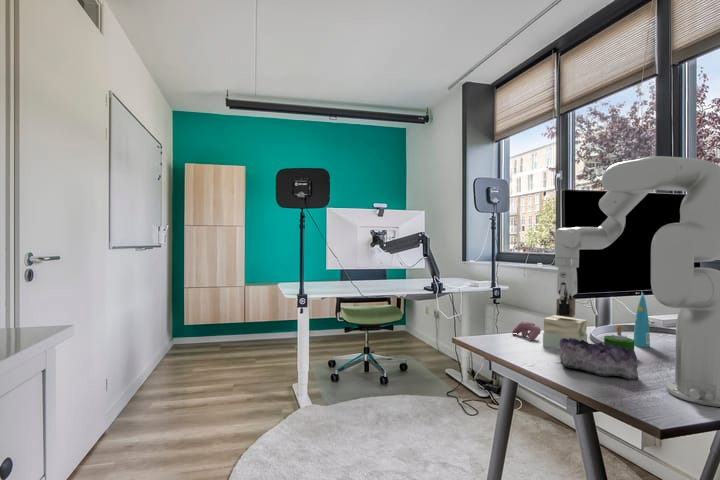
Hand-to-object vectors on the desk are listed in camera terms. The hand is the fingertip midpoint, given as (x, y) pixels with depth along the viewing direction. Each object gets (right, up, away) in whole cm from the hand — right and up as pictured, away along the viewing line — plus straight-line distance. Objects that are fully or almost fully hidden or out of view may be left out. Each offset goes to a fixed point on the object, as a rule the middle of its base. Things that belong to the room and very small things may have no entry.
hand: (565, 313), depth 138 cm
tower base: (0, -12, 0) cm, 12 cm away
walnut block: (0, -1, 0) cm, 1 cm away
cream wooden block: (0, -7, 0) cm, 7 cm away
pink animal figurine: (-9, -12, +11) cm, 19 cm away
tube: (+28, -12, +2) cm, 31 cm away
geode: (-4, -12, -25) cm, 28 cm away
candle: (+12, -12, -10) cm, 20 cm away
